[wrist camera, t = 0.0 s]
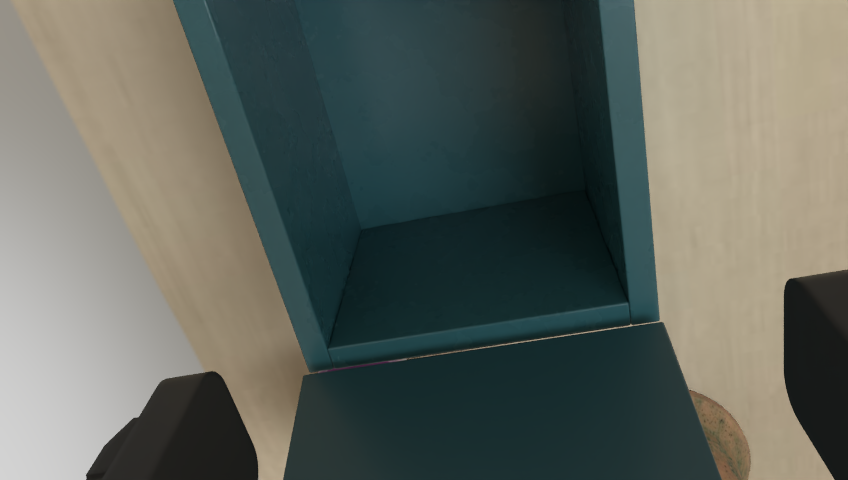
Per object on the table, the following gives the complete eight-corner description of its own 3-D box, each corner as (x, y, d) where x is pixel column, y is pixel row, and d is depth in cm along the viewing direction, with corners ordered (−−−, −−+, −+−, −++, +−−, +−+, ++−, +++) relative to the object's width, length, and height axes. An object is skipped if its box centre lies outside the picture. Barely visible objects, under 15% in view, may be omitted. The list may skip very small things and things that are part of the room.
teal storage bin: (247, -103, 26) (138, -91, 17) (562, -183, 25) (616, -215, 16) (350, 240, 33) (309, 373, 24) (604, 195, 31) (660, 321, 22)
